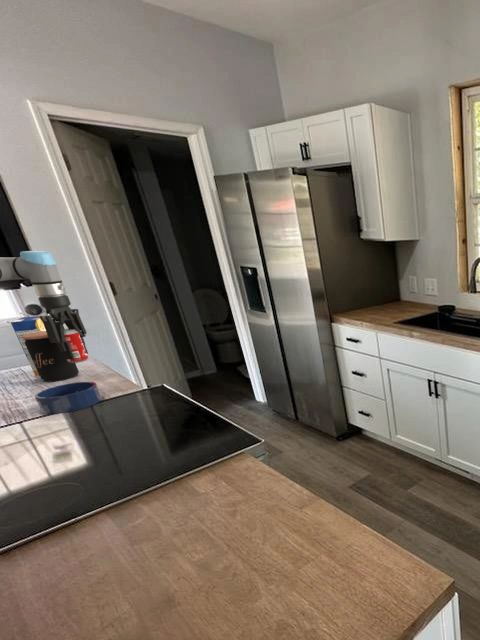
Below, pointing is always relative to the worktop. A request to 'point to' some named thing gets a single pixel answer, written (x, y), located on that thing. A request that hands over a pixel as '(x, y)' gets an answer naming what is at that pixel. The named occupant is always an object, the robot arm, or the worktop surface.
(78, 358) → the beverage can
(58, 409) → the blue bowl
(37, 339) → the coffee jar
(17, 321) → the beverage box
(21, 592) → the worktop surface
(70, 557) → the worktop surface
